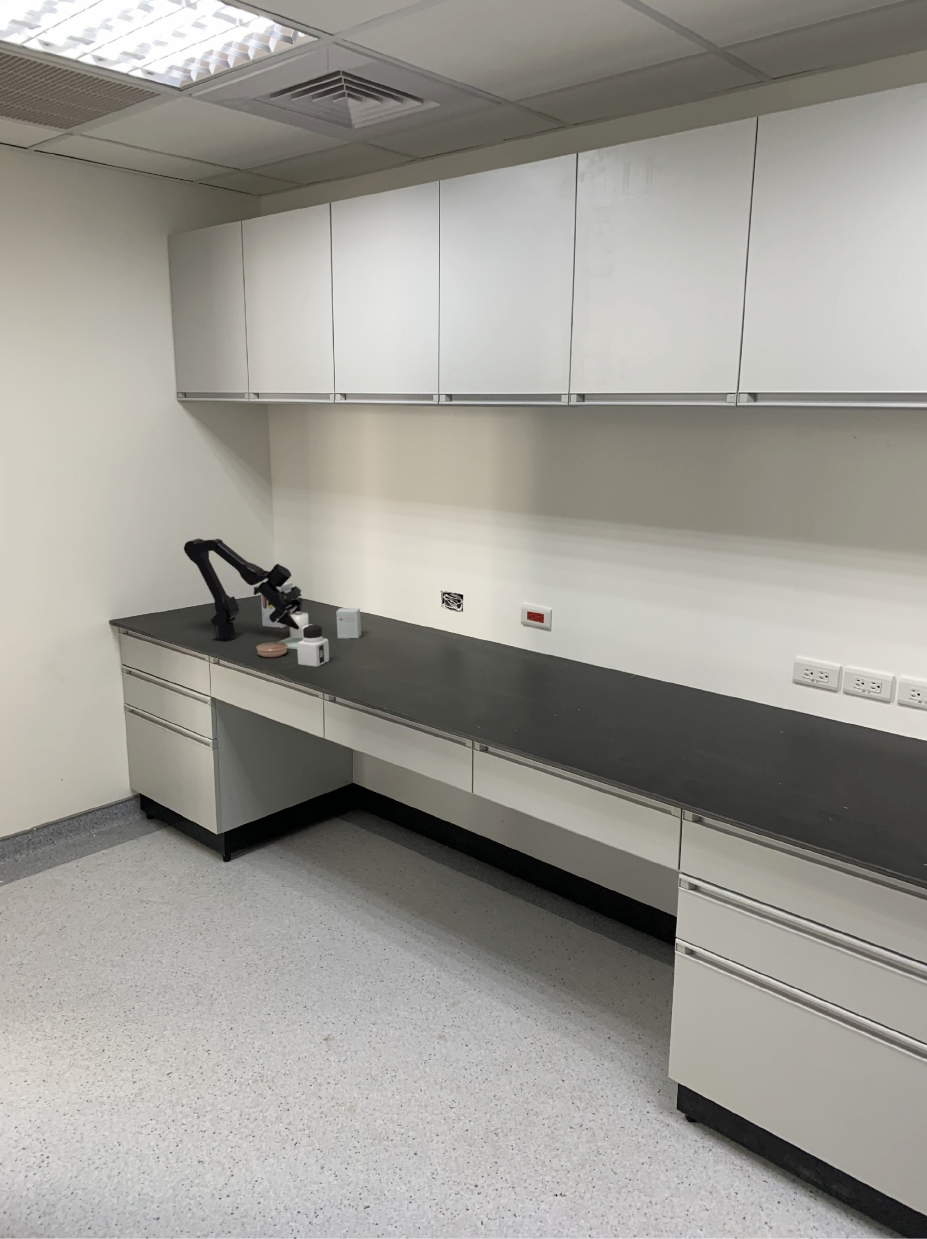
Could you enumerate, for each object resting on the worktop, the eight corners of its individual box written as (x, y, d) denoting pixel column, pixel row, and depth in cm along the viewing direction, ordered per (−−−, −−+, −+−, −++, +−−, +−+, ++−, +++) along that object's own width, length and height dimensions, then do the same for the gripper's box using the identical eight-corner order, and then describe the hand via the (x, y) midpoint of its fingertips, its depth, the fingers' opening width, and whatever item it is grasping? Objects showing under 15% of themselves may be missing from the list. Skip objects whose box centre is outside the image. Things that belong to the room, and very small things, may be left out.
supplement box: (261, 626, 349) (259, 584, 345) (275, 620, 358) (272, 580, 354) (282, 628, 346) (280, 586, 342) (295, 622, 354) (293, 581, 350)
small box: (361, 635, 335) (360, 608, 332) (358, 638, 330) (357, 611, 327) (340, 634, 336) (339, 607, 333) (337, 638, 330) (336, 611, 328)
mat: (273, 646, 320) (273, 644, 320) (294, 636, 333) (294, 634, 333) (305, 650, 315) (305, 648, 315) (326, 640, 327) (326, 638, 327)
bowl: (250, 656, 307) (250, 648, 307) (268, 649, 317) (268, 641, 316) (276, 660, 303) (275, 651, 302) (293, 652, 313) (293, 644, 312)
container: (329, 661, 302) (328, 624, 299) (316, 667, 295) (315, 629, 292) (310, 658, 305) (308, 622, 302) (297, 664, 298) (295, 627, 295)
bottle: (289, 638, 319) (288, 614, 317) (290, 633, 326) (289, 609, 324) (308, 637, 320) (307, 613, 318) (309, 632, 327) (308, 609, 325)
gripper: (275, 585, 310) (305, 618, 310) (297, 575, 328) (326, 606, 328) (256, 606, 314) (286, 638, 314) (279, 595, 332) (307, 625, 332)
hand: (302, 626), depth 322 cm, fingers closed on bottle, 7 cm apart
